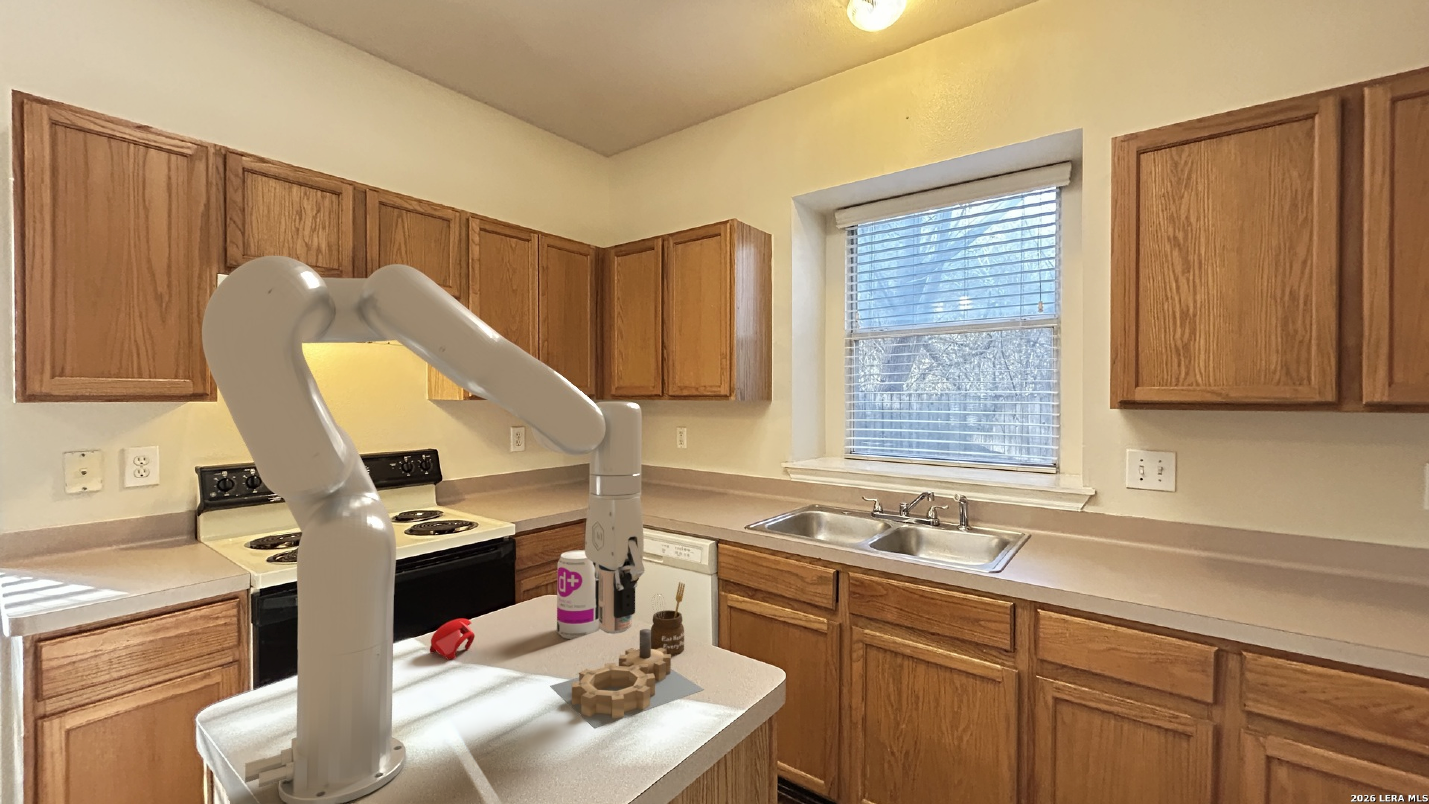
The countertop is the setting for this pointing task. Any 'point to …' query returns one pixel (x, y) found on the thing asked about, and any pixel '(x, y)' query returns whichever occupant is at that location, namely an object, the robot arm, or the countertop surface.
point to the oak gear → (613, 701)
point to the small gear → (648, 657)
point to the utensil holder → (668, 628)
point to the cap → (451, 638)
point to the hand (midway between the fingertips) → (615, 609)
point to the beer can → (610, 603)
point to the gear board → (664, 689)
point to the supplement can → (576, 596)
